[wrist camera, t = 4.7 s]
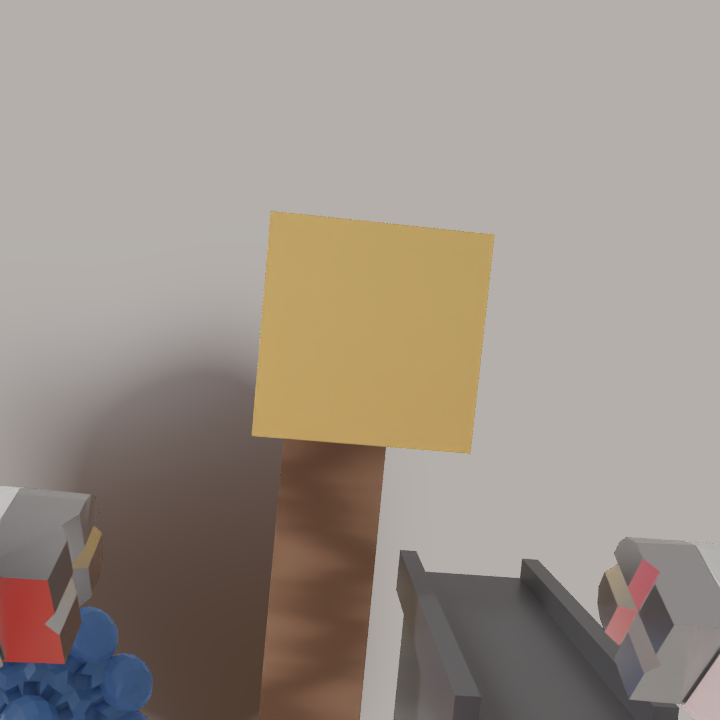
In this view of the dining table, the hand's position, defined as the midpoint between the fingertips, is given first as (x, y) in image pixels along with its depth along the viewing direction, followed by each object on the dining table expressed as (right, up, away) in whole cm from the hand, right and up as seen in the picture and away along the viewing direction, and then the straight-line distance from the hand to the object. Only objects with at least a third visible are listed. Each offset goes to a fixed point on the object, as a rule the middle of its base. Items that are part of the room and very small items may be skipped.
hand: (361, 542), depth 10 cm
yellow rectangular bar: (0, +2, +11) cm, 11 cm away
